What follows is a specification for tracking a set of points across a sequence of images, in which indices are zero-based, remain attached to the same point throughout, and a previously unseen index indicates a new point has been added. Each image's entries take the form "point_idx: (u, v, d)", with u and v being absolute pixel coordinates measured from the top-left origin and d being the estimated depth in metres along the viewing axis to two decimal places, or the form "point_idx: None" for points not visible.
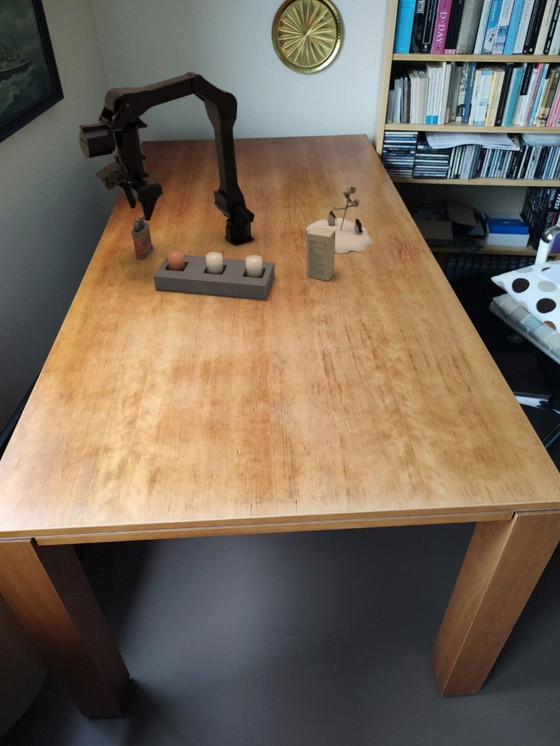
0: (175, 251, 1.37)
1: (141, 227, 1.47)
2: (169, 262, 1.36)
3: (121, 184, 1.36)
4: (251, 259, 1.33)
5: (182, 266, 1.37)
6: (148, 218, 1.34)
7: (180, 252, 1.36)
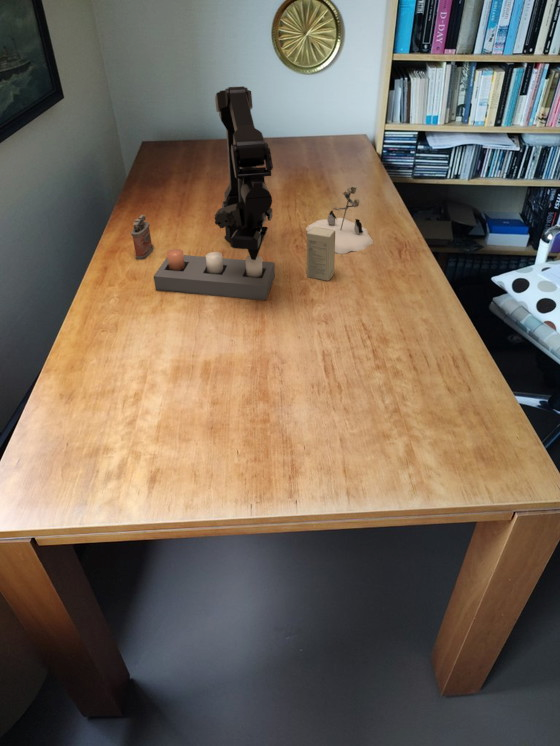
0: (175, 251, 1.37)
1: (141, 227, 1.47)
2: (169, 262, 1.36)
3: None
4: (251, 259, 1.33)
5: (182, 266, 1.37)
6: (253, 257, 1.33)
7: (180, 252, 1.36)
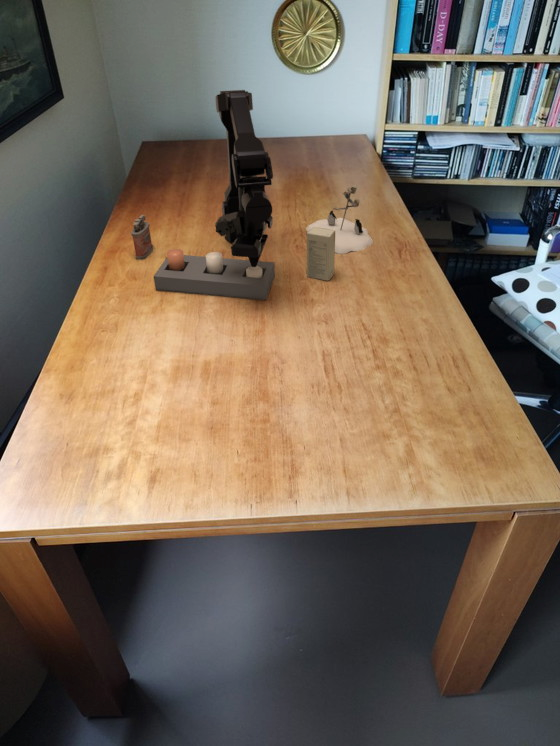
0: (175, 251, 1.37)
1: (141, 227, 1.47)
2: (169, 262, 1.36)
3: None
4: (251, 270, 1.35)
5: (182, 266, 1.37)
6: (253, 265, 1.34)
7: (180, 252, 1.36)
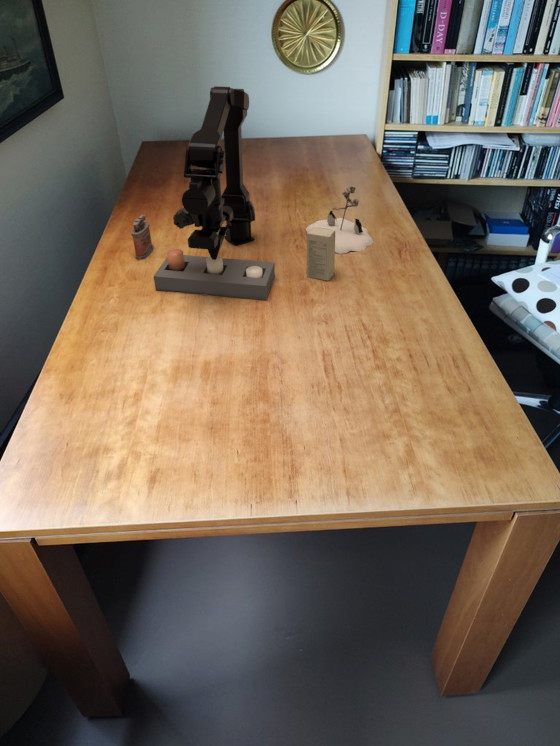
0: (175, 251, 1.37)
1: (141, 227, 1.47)
2: (169, 262, 1.36)
3: None
4: (251, 270, 1.35)
5: (182, 266, 1.37)
6: (213, 257, 1.35)
7: (180, 252, 1.36)
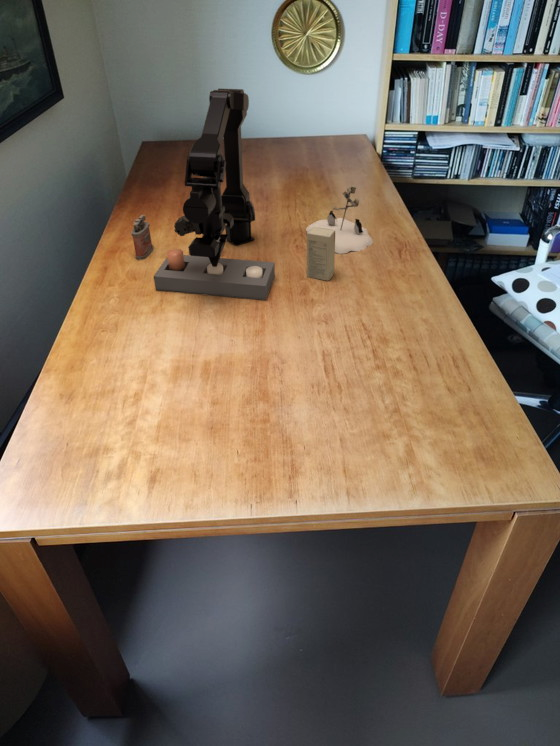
0: (175, 251, 1.37)
1: (141, 227, 1.47)
2: (169, 262, 1.36)
3: None
4: (251, 270, 1.35)
5: (182, 266, 1.37)
6: (214, 264, 1.36)
7: (180, 252, 1.36)
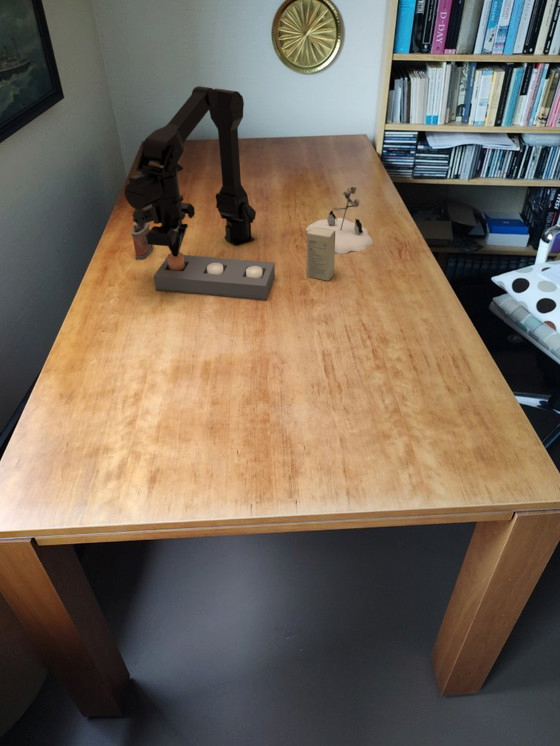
0: None
1: (141, 227, 1.47)
2: (169, 265, 1.37)
3: None
4: (251, 270, 1.35)
5: (182, 269, 1.38)
6: (174, 254, 1.36)
7: (180, 255, 1.37)
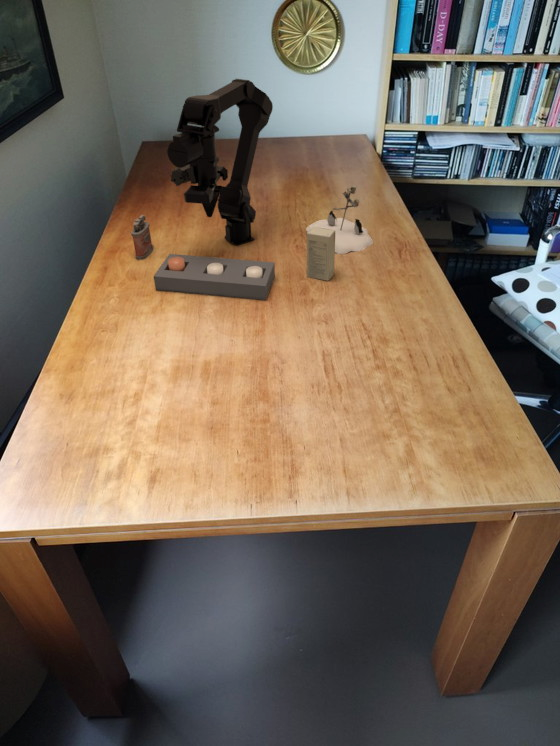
0: (176, 259, 1.38)
1: (141, 227, 1.47)
2: None
3: None
4: (251, 270, 1.35)
5: None
6: (209, 215, 1.41)
7: (181, 260, 1.38)
